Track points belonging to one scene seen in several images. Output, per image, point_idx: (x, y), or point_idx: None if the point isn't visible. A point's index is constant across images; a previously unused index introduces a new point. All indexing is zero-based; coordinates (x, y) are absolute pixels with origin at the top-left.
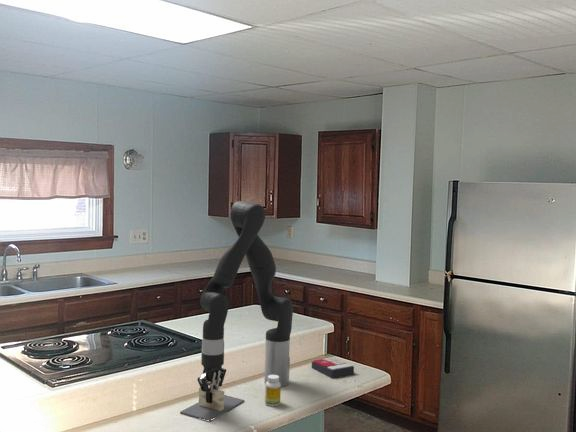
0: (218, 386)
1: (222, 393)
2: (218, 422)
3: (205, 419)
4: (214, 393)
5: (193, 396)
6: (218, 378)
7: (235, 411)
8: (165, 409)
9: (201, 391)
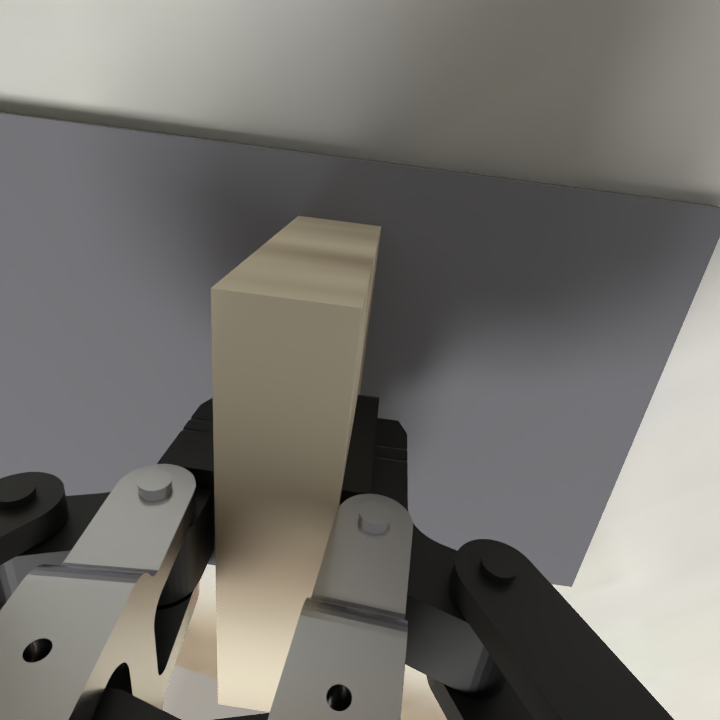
0: (120, 502)
1: (295, 290)
2: (704, 74)
3: (694, 277)
4: (347, 443)
5: None
6: (25, 707)
7: (239, 38)
8: None
9: None
